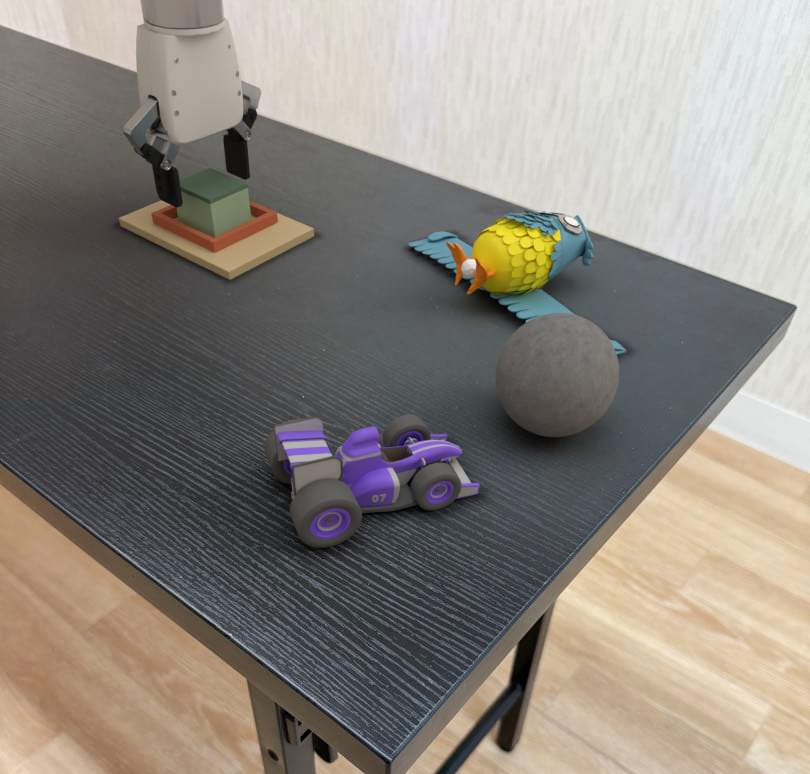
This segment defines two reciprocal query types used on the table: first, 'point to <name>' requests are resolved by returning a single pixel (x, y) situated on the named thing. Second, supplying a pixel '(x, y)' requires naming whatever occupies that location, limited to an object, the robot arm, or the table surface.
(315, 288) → the table surface
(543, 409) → the decorative ball
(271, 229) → the wooden board with frame
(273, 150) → the table surface
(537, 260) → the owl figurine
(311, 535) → the toy race car
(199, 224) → the green lidded box
